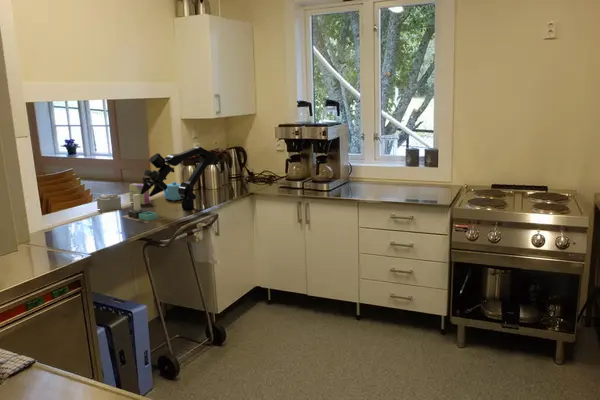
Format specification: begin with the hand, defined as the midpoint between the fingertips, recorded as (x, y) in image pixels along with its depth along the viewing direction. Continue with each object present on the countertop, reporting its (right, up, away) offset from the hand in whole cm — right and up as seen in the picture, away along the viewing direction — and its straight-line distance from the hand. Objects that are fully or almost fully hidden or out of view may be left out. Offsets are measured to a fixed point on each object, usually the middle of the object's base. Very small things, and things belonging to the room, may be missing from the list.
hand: (145, 195), depth 283 cm
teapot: (+6, -2, +48) cm, 49 cm away
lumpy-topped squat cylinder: (-26, -8, +19) cm, 33 cm away
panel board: (0, -13, -4) cm, 14 cm away
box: (-14, -5, +36) cm, 39 cm away
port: (+4, -13, -7) cm, 15 cm away
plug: (-4, -12, -1) cm, 12 cm away
